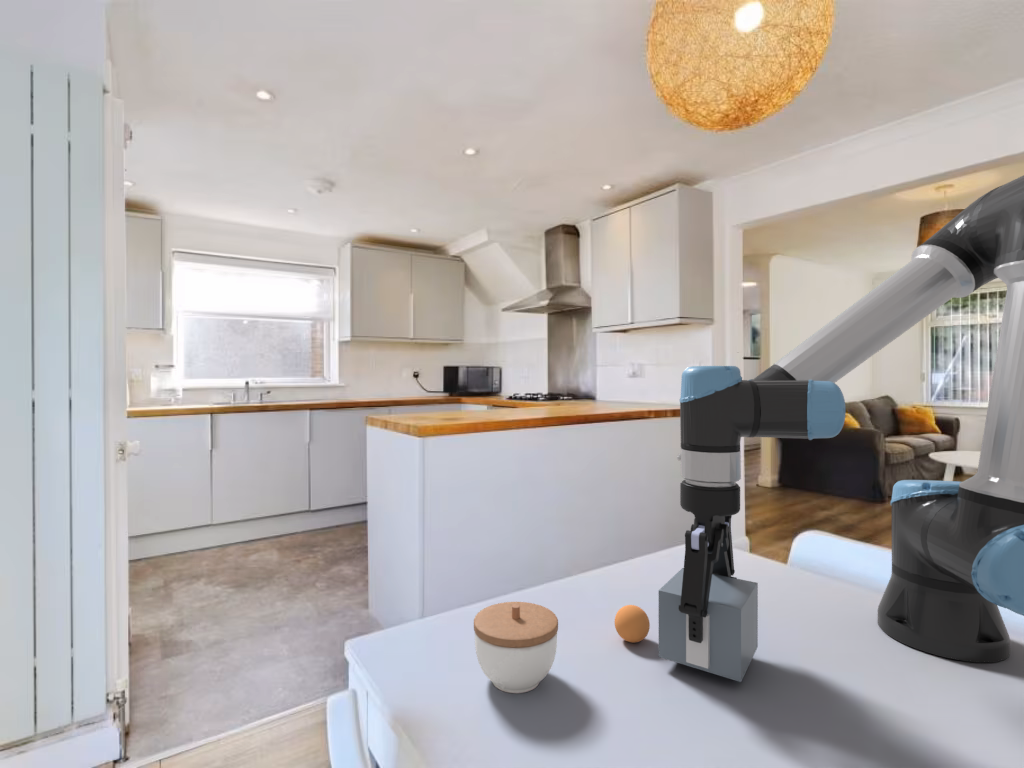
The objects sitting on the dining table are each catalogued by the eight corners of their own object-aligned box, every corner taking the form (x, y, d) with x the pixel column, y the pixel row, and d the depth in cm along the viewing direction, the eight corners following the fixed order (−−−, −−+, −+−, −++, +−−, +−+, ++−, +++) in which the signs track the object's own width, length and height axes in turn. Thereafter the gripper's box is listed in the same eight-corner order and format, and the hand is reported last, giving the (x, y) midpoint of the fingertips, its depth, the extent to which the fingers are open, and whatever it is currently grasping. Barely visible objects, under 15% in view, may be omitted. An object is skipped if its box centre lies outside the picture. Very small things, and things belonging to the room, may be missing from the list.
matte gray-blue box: (757, 647, 72) (757, 582, 72) (741, 682, 64) (741, 609, 64) (682, 627, 78) (682, 567, 78) (658, 656, 70) (658, 590, 70)
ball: (618, 600, 81) (626, 634, 80) (605, 612, 77) (614, 648, 76) (649, 599, 78) (658, 634, 78) (637, 611, 74) (646, 648, 73)
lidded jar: (561, 705, 62) (561, 626, 62) (469, 705, 62) (469, 625, 62) (555, 657, 73) (555, 589, 72) (477, 656, 73) (477, 588, 73)
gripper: (704, 466, 82) (704, 608, 82) (651, 492, 64) (651, 676, 64) (756, 471, 78) (756, 621, 78) (716, 501, 59) (716, 697, 59)
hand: (709, 646), depth 71 cm, fingers closed on matte gray-blue box, 10 cm apart
